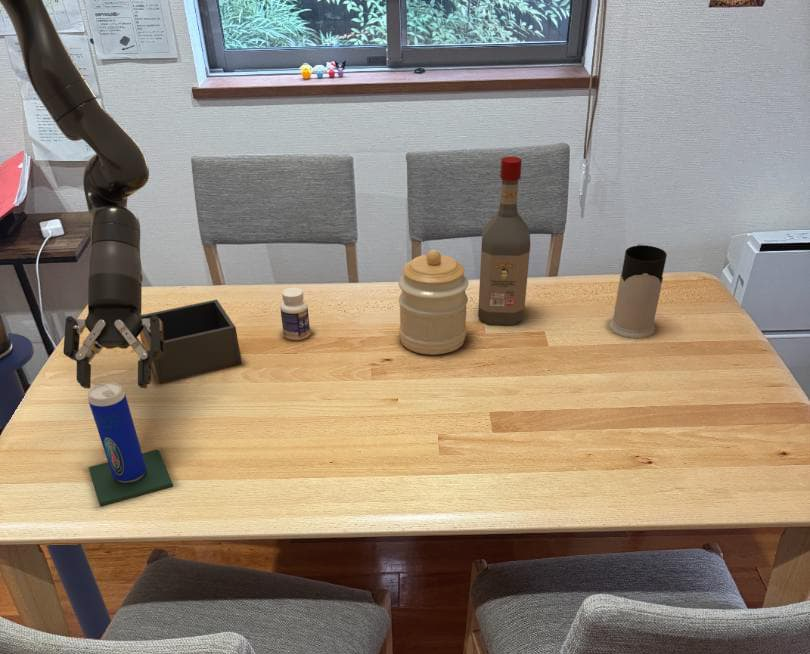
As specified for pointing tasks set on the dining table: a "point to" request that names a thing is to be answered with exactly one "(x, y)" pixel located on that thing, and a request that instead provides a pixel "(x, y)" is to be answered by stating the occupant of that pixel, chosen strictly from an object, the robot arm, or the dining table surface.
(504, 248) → the liquor
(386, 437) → the dining table surface
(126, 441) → the beverage can
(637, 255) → the glass holder
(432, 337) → the jar
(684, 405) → the dining table surface
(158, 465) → the mat
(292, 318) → the pill bottle
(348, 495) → the dining table surface
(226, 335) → the dark grey open box
